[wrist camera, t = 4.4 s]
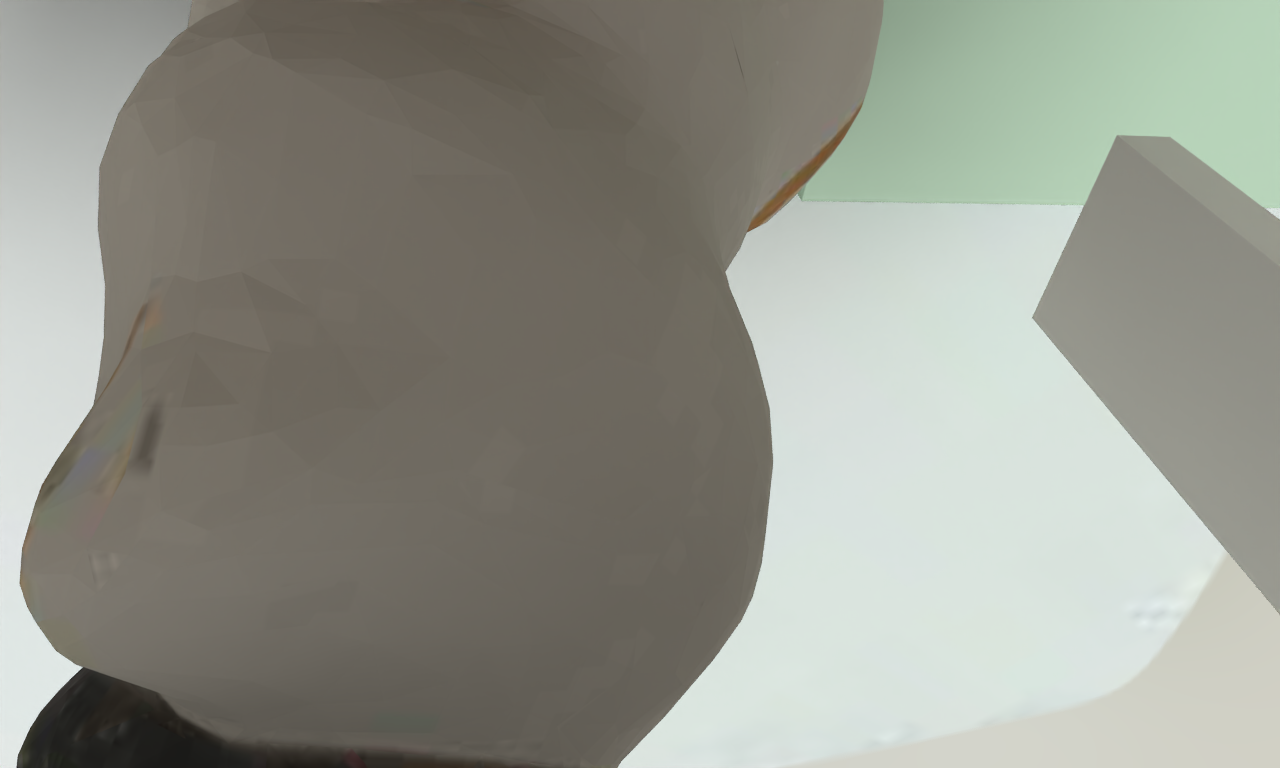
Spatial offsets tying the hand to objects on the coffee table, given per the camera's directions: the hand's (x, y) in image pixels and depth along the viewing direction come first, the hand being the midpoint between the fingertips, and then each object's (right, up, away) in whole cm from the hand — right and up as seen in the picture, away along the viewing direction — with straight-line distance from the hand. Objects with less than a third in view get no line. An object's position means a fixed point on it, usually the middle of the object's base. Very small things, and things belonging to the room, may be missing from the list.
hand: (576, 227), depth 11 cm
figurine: (-1, +5, +6) cm, 8 cm away
